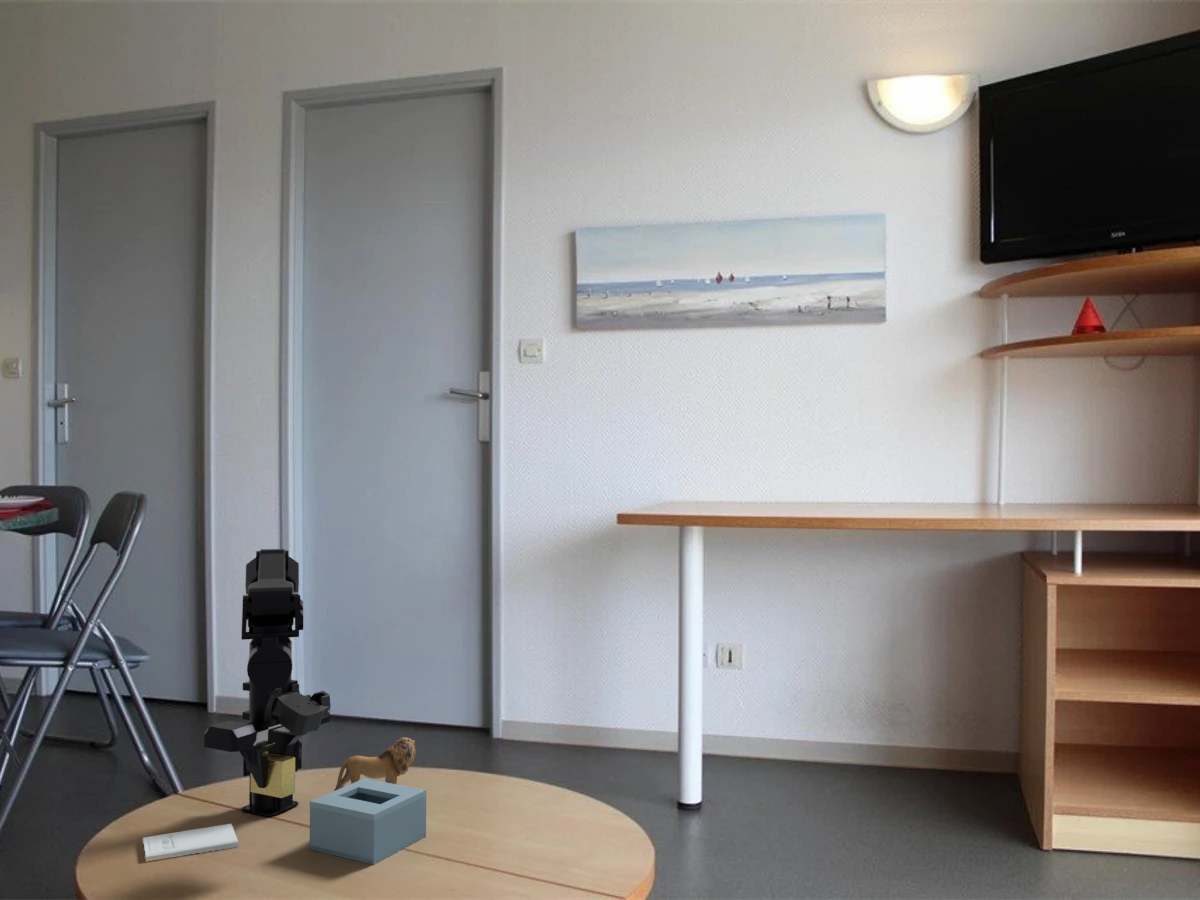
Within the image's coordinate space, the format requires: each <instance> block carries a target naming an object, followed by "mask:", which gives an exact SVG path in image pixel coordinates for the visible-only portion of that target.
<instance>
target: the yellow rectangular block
mask: <svg viewBox="0 0 1200 900" xmlns="http://www.w3.org/2000/svg"><path fill="white" fill-rule="evenodd" d="M251 792H254V793H259V794H264V795H269V796H274V797H279V798H283V797H286V796H289V795H291V794H293V795H294V794H295V793H296V772H295V757H290V756H284V755H279V754H273V753H268V768H267V781H266V787H265V788H259V787H258V786H257V784H256V782H255V780H254V778H253V776H252V774H251Z"/></svg>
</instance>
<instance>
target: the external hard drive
mask: <svg viewBox="0 0 1200 900" xmlns="http://www.w3.org/2000/svg"><path fill="white" fill-rule="evenodd" d="M232 824H233V823H226V824H218V825H214V826H213V825H212V826H208V827H202V828H201V827H200V828H196V829H195V828H194V829H188V830H182V831H176V832H175V831H174V832H169V833H163V834H159V835H158V834H156V835H151V836H144V837H142V845H143V844H144V849H143V852H144V851H145V856H144V860H145V859H151V858H162V857H171V856H177V855H178V856H179V855H187V854H194V855H196V854H195V853H200V854H202V853H201V852H206V853H210V852H209V851H212V852H216V851H215V850H218V851H222V850H223V849H224V850H229V848H230V849H234V848H235V847H236V848H239V840H238V837H237V834H236V832H235V829H234V827H233V825H232ZM224 850H223V851H224Z"/></svg>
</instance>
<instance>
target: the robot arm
mask: <svg viewBox="0 0 1200 900" xmlns="http://www.w3.org/2000/svg"><path fill="white" fill-rule="evenodd" d="M255 552H256V553H255V554H256V555H255V557H254V558H253V559H252V560H250V561H249V562H247V563H246V565H245V594H244V595H242V607H241V610H242V611H241V613H242V616H241V641H243V640H246V641H247V640H251V641H250V642H249V655H248V659H247V660H248V661H247V667H246V670H247V671H246V673H247V677H248V681H246V682H242V691H244V692H245V691H246V692H248V710H246V711H243V712H241V713H242V714H241V715H242V718H241V719H242V720H245V721H248V722H247V723H245V722H239V721H233V720H227V721H222V722H219V723H216V724H213V725H209V726H208V727H207V729H206V730H204V734H203V736H204V738H203V740H204V741H203V743H204V744H203V748H207V749H213V750H218V751H222V752H223V751H224V752H228V753H236V752H239V754H240V755H241V756H242V760H243V762H242V764H243V766H242V767H243V769H242V772H243V773H242V774H243V777H247V776H249V794H248V795H249V797H248V800H249V801H248V802H249V803H248V804H247V805H244V806H242V807H241V811H244V812H247V813H252V814H256V815H259V816H266V817H272V816H276V815H278V814H279V813H282V812H285V811H288V810H289V809H292V808H295V807H297V806H299V801H297V800H294V798H293V797H294V794H291V795H289V796H286V797H283V798H279V797H274V796H269V795H264V794H259V793H254V792H251V774H252V776H253V778H254V780H255V782H256V784H257V786H258V787H259V788H265V787H266V781H267V768H268V753H273V754H279V755H284V756H290V757H295V773H298V770H301V769H302V767H303V766H302V759H303V757H302V753H303V742H302V741H300V739H301V738H303V736H305V735H307V734H308V733H310V732H312V731H314V732H317V731H318V730H319V729H320V726H321V725H323V724H326V723H330V722H331V721H330V720H331V719H330V718H331V716H330V715H331V714H330V713H331V696H330V695H331V694H329V693H328V692H326V691H324V690H320V691H318V692H314V693H313V694H312V695H311V694H307V695H304V694H302V693H301V691H300V684H299V683H298V681H299V680H296V679H292V671H293V657H292V656H293V655H292V651H293V649H292V648H293V647H292V646H293V645H292V644H293V643H292V640H291V638H299V637H300V631H304V600H303V599H301V594H300V593H299V589H300V587H299V585H300V577H299V575H300V566H299V565H300V563H299V562H297V560H295V559H293V558H292V557H290V556H289V550H286V549H285V548H265V549H260V550H256V551H255ZM293 625H294V629H293ZM247 627H248V631H247Z"/></svg>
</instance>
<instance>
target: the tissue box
mask: <svg viewBox="0 0 1200 900" xmlns="http://www.w3.org/2000/svg"><path fill="white" fill-rule="evenodd" d="M426 837H427V789H424V788H419V787H413V786H407V785H401V784H397V783H396V784H392V783H387V782H385V781H380V780H376V779H372V778H367V777H366V778H365V777H364V778H362V779H359V781H357V782H355V783H352V784H351V783H350V784H347V785H344V786H343V788H340V789H338V790H336V791H334V790H333V791H330V792H329V793H326V794H324V795H322V796H319V797H316V798H314V799H312V800H310V801H309V850H311V851H315V852H320V853H323V854H328V855H332V856H337V857H341V858H345V859H347V860H348V859H349V860H353V861H358V862H361V863H366V864H369V865H376V864H378V863H379V862H381V861H383V860H385V859H387V858H389V857H390V856H393V855H394V854H397V853H398V852H400V851H401V850H404V849H405V848H407V847H409V846H410V845H413V844H415V843H416V842H419V841H421V840H422V839H424V838H426Z"/></svg>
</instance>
